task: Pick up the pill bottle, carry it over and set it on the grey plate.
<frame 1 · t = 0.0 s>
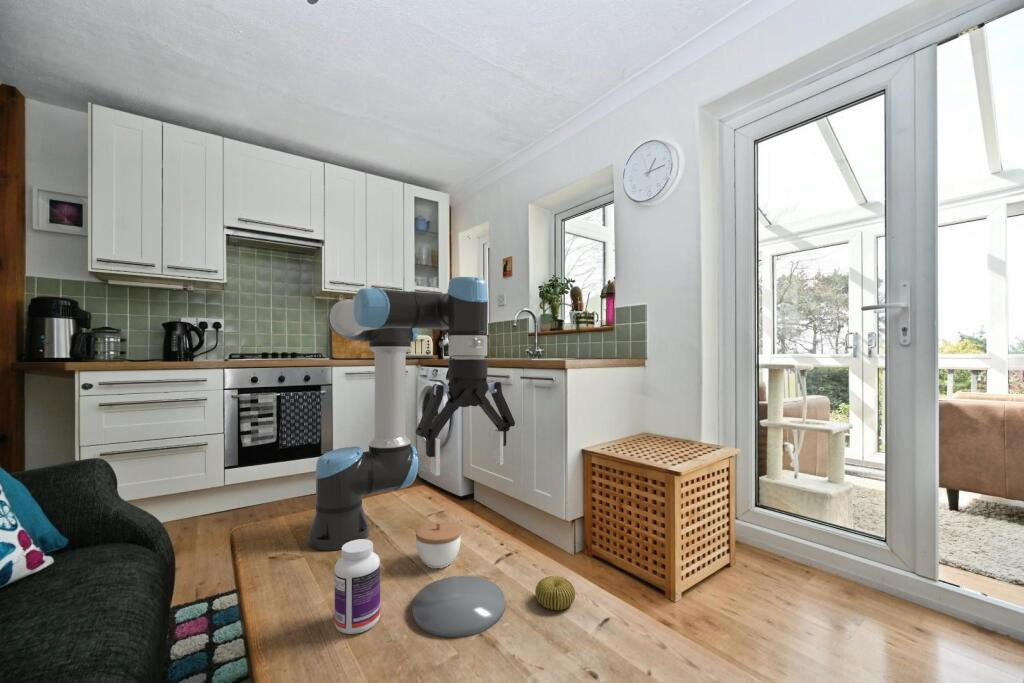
hand: (468, 468, 84), 28 cm above the table, tool pointing down, fingers open, 13 cm apart
grey plate: (459, 607, 86), on the table
pill bottle: (357, 624, 81), on the table
lidded jar: (438, 563, 104), on the table
green barrel cactus: (555, 603, 88), on the table
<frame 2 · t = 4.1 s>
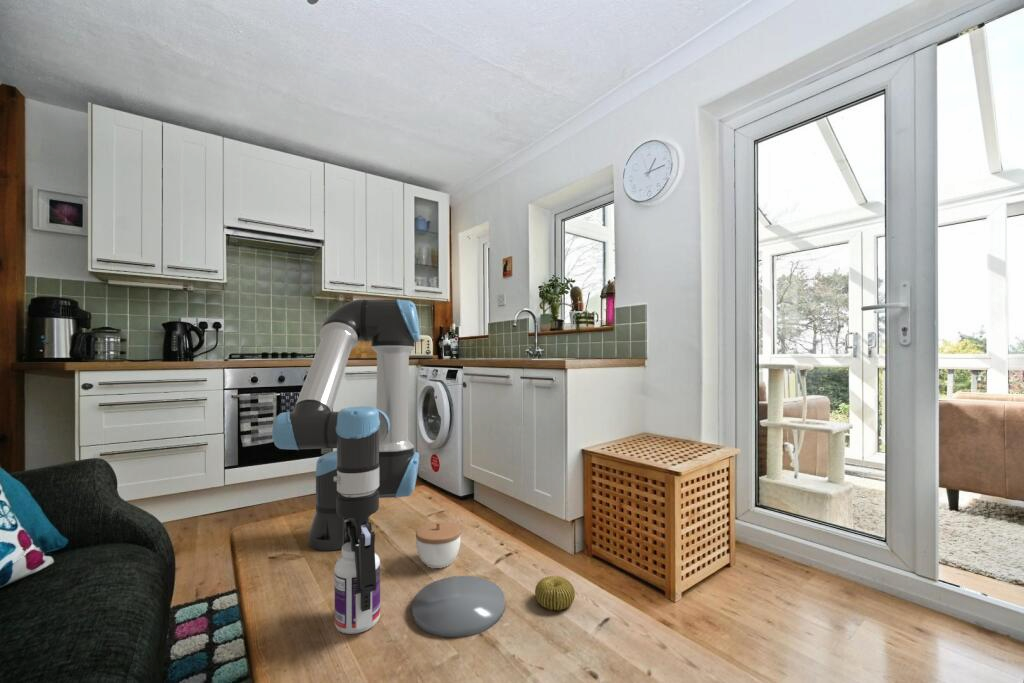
hand: (357, 613, 81), 2 cm above the table, tool pointing down, fingers closed on pill bottle, 8 cm apart
pill bottle: (357, 624, 81), on the table, touching gripper
everything else where it was.
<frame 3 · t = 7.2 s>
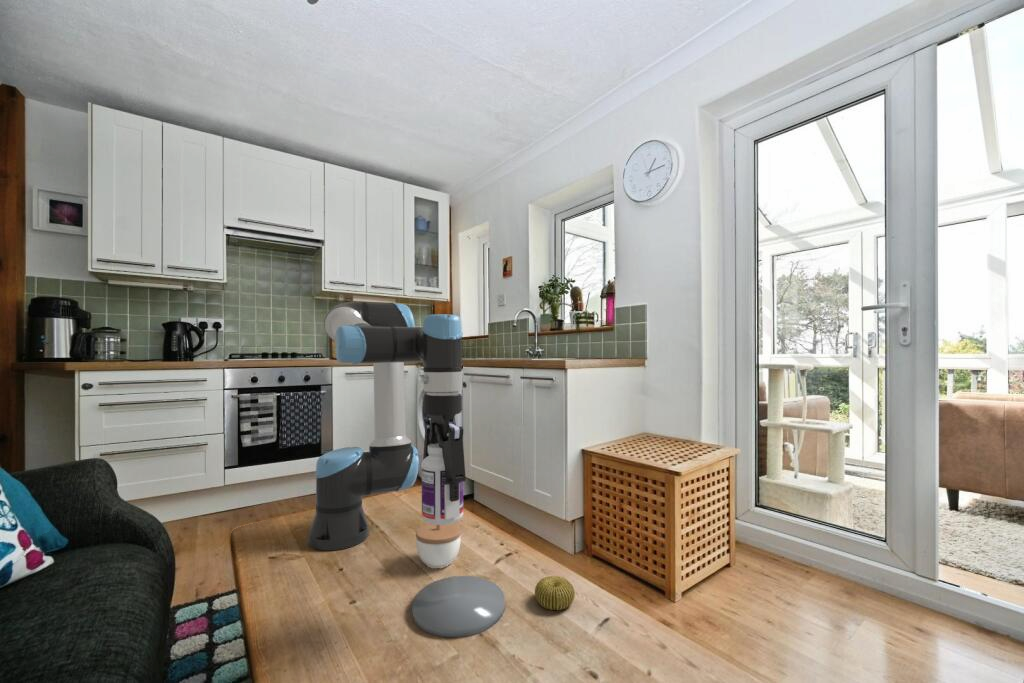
hand: (442, 509, 85), 20 cm above the table, tool pointing down, fingers closed on pill bottle, 8 cm apart
pill bottle: (442, 520, 85), point 18 cm above the table, touching gripper
everything else where it was.
when the fingers open (4 cm above the table, at t = 10.3 s): pill bottle stays where it is, resting on grey plate.
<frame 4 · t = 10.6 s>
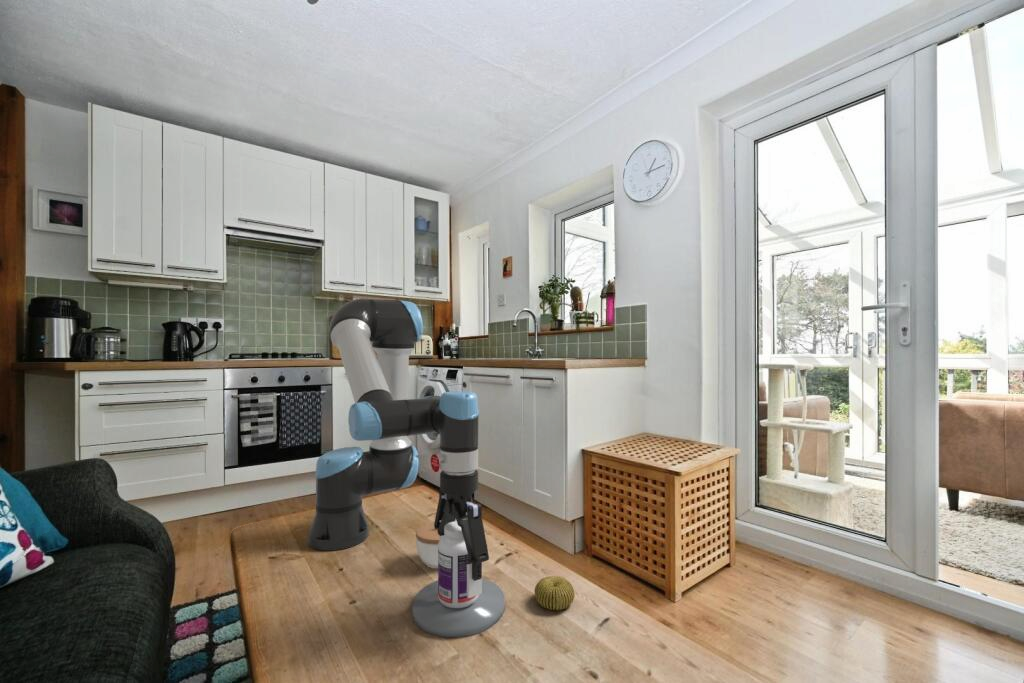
hand: (459, 580, 86), 5 cm above the table, tool pointing down, fingers open, 12 cm apart
pill bottle: (458, 600, 86), point 1 cm above the table, touching grey plate
everything else where it was.
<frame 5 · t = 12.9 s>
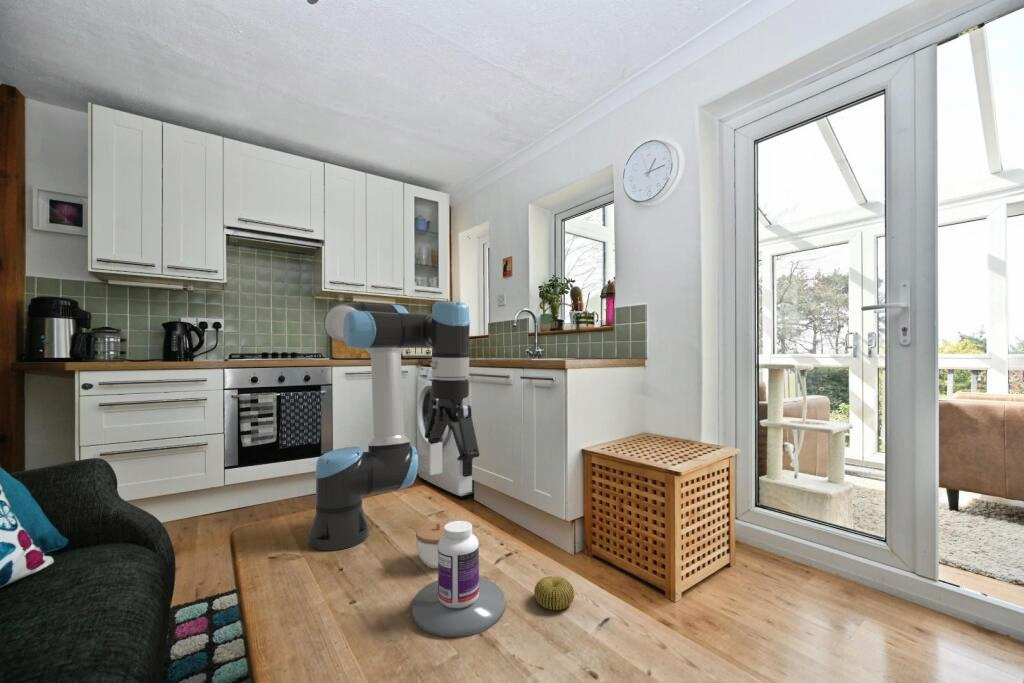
hand: (449, 482, 89), 24 cm above the table, tool pointing down, fingers open, 13 cm apart
nothing on the table moved.
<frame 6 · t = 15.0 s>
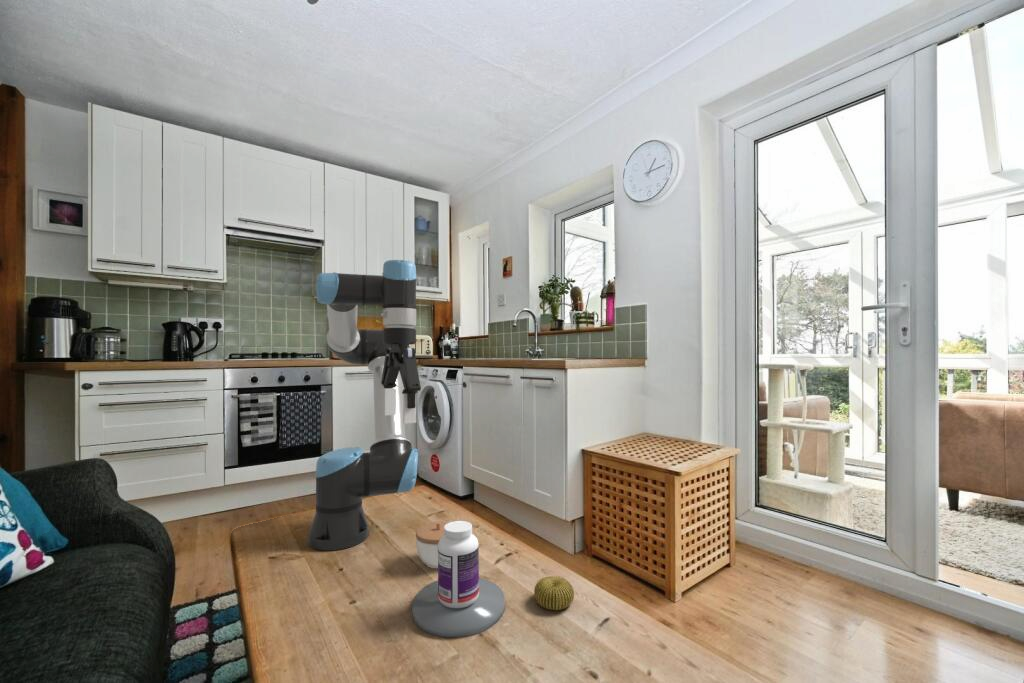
hand: (399, 418, 102), 35 cm above the table, tool pointing down, fingers open, 13 cm apart
nothing on the table moved.
at the end: pill bottle inside the target area on the grey plate (0.2 cm from its centre), point 1.3 cm above the grey plate's base; pill bottle tilted 0°; pill bottle touching grey plate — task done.
